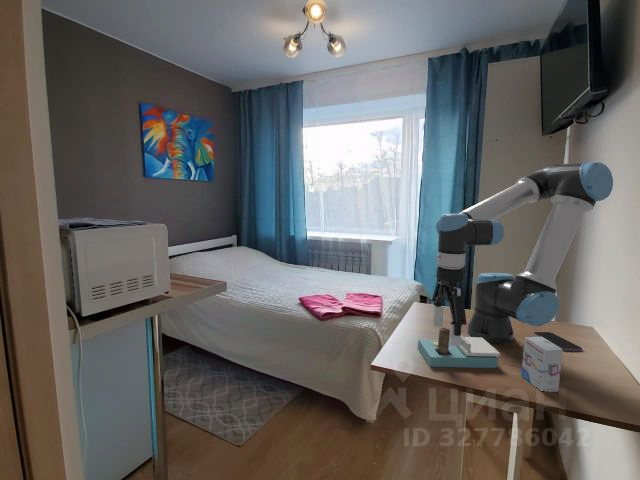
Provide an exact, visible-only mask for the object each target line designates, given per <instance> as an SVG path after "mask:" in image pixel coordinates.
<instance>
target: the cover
mask: <svg viewBox="0 0 640 480" xmlns="http://www.w3.org/2000/svg"><path fill="white" fill-rule="evenodd" d="M458 347H459V348H460V350H461V351H462V352H463V353H464V354H465V355H466V356H496V357H500V356H501V352H499V351H498V350H497V349H496V348H495V347H494V346H492V345H491V344H490V342H487V341H486V340H484V339H483V338H482V337H473V336H463V335H462V334H461V343H460V346H458Z"/></svg>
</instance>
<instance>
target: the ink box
mask: <svg viewBox="0 0 640 480" xmlns="http://www.w3.org/2000/svg"><path fill="white" fill-rule="evenodd" d="M523 344H524V345H523V354H522V364H521V374H520V376H522V377H523V379H525V380H526V381H527V382H529V383H530V384H531V385H532V386H534V387H535V388H536V387H537V388H538V389H537V388H536V389H537V390H539V389H540V390H541V391H545V392H544V393H553V392H554V393H555V392H559V387H560V378H561V377H560V376H561V368H562V363H563V361H562V360H563V353H564V350H562V349H561V348H559V347H558V346H556V345H555V344H553V343H551V342H550V341H548V340H546V339H545V338H543V337H538V336H527V337H524V343H523ZM540 390H539V391H540ZM541 391H540V392H541ZM547 391H548V392H547Z"/></svg>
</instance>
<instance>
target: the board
mask: <svg viewBox="0 0 640 480" xmlns="http://www.w3.org/2000/svg"><path fill="white" fill-rule="evenodd" d="M417 340H418V341H417V349H418V351H419V352H420V354H421V356H422V357H423V359H425V360H424V361H426V363H427V364H428V366H429V367H433V368H471V369H472V368H473V369H474V368H475V369H476V368H477V369H478V368H479V369H483V368H484V369H487V368H488V369H498V363H499V358H498V356H466V355H465V354H464V353H463V352H462V351H461V350H460V348H459V347H458V346H450V339H449V348H448V355H439V354H438V341H439V339H417Z"/></svg>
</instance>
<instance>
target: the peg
mask: <svg viewBox="0 0 640 480" xmlns="http://www.w3.org/2000/svg"><path fill="white" fill-rule="evenodd" d="M450 334H451V329H449V328H446V327H440V328H439V331H438V340H439V341H438V354H439V355H448V348H449V340H450Z"/></svg>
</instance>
